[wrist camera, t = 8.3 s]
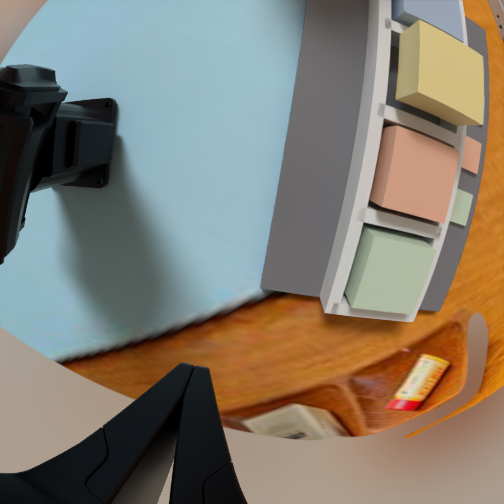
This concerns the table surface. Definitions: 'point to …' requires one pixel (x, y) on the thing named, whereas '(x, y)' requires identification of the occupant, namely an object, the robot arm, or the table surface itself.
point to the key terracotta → (414, 174)
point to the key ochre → (440, 75)
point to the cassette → (498, 14)
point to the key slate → (430, 14)
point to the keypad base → (360, 158)
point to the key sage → (388, 271)
